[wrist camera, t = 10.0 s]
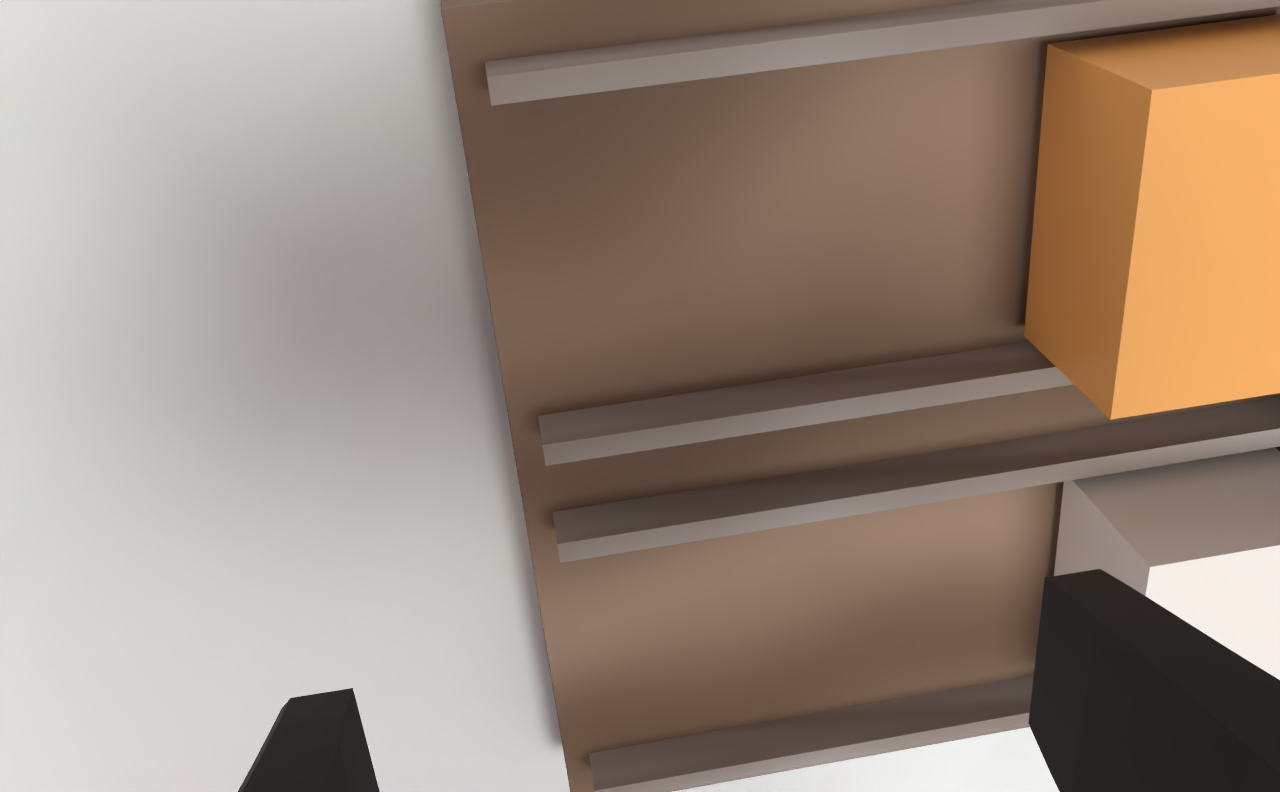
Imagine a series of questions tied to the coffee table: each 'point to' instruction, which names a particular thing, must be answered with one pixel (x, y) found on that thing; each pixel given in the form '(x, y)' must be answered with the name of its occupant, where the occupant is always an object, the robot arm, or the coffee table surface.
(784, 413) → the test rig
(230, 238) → the coffee table surface
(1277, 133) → the orange slider
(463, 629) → the coffee table surface
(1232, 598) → the white slider
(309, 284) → the coffee table surface
